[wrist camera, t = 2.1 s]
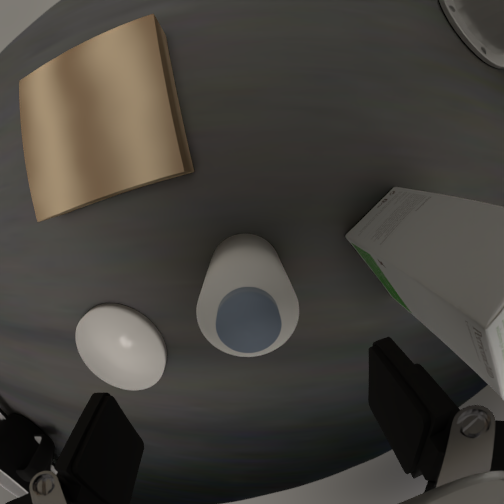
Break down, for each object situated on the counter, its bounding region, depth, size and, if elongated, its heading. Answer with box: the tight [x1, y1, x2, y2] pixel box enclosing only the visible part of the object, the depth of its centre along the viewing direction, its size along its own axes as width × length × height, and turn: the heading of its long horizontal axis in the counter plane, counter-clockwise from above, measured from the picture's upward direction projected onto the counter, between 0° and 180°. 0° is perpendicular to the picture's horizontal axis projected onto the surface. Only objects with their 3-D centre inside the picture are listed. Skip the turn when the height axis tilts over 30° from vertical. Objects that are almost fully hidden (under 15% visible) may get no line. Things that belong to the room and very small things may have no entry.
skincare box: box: [345, 187, 504, 400], centre depth 15 cm, size 8×7×16 cm
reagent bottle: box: [196, 233, 299, 357], centre depth 18 cm, size 5×5×9 cm
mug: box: [0, 408, 57, 498], centre depth 23 cm, size 16×16×12 cm
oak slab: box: [19, 14, 194, 222], centre depth 17 cm, size 12×12×4 cm
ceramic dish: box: [76, 303, 167, 390], centre depth 24 cm, size 9×9×1 cm
